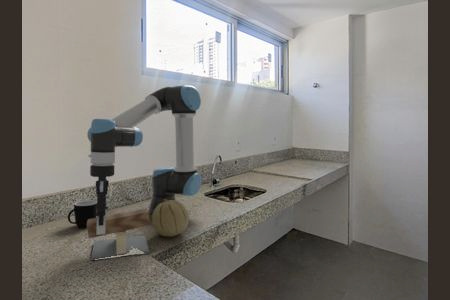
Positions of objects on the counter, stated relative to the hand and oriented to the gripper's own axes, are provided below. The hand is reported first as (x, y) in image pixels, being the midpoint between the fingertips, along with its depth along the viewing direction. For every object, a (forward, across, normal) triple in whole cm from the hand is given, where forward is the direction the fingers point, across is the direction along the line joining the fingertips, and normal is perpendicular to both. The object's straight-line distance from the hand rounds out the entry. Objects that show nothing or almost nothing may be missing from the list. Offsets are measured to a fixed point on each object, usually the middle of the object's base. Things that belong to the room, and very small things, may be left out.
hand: (101, 230), depth 92 cm
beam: (0, 0, +6) cm, 6 cm away
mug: (+7, -28, -8) cm, 30 cm away
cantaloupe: (+7, -7, +26) cm, 27 cm away
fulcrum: (+7, 0, +6) cm, 10 cm away
